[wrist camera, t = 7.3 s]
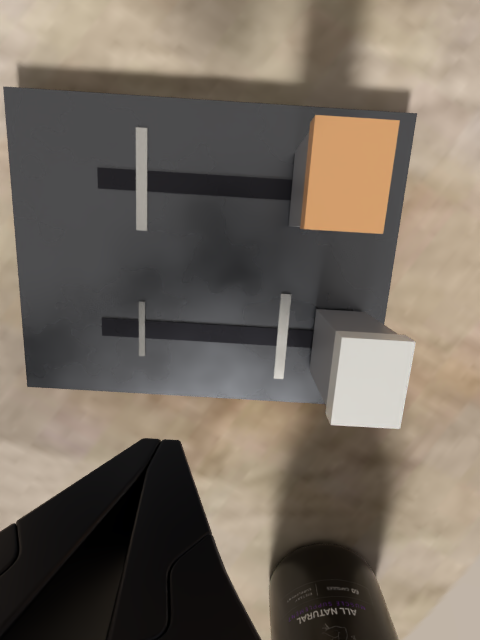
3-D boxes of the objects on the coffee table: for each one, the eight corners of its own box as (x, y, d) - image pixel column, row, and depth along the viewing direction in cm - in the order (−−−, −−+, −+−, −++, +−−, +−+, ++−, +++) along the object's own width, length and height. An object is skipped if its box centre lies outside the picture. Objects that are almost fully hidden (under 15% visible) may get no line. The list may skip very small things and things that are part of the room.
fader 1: (286, 228, 17) (304, 228, 12) (293, 148, 17) (315, 114, 12) (342, 231, 17) (383, 233, 12) (351, 152, 17) (399, 120, 12)
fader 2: (307, 372, 19) (330, 425, 14) (314, 306, 18) (341, 337, 13) (358, 375, 19) (399, 428, 14) (368, 310, 18) (415, 341, 13)
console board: (39, 377, 21) (26, 387, 20) (19, 95, 18) (1, 85, 16) (364, 396, 21) (371, 407, 20) (405, 120, 18) (418, 112, 16)
